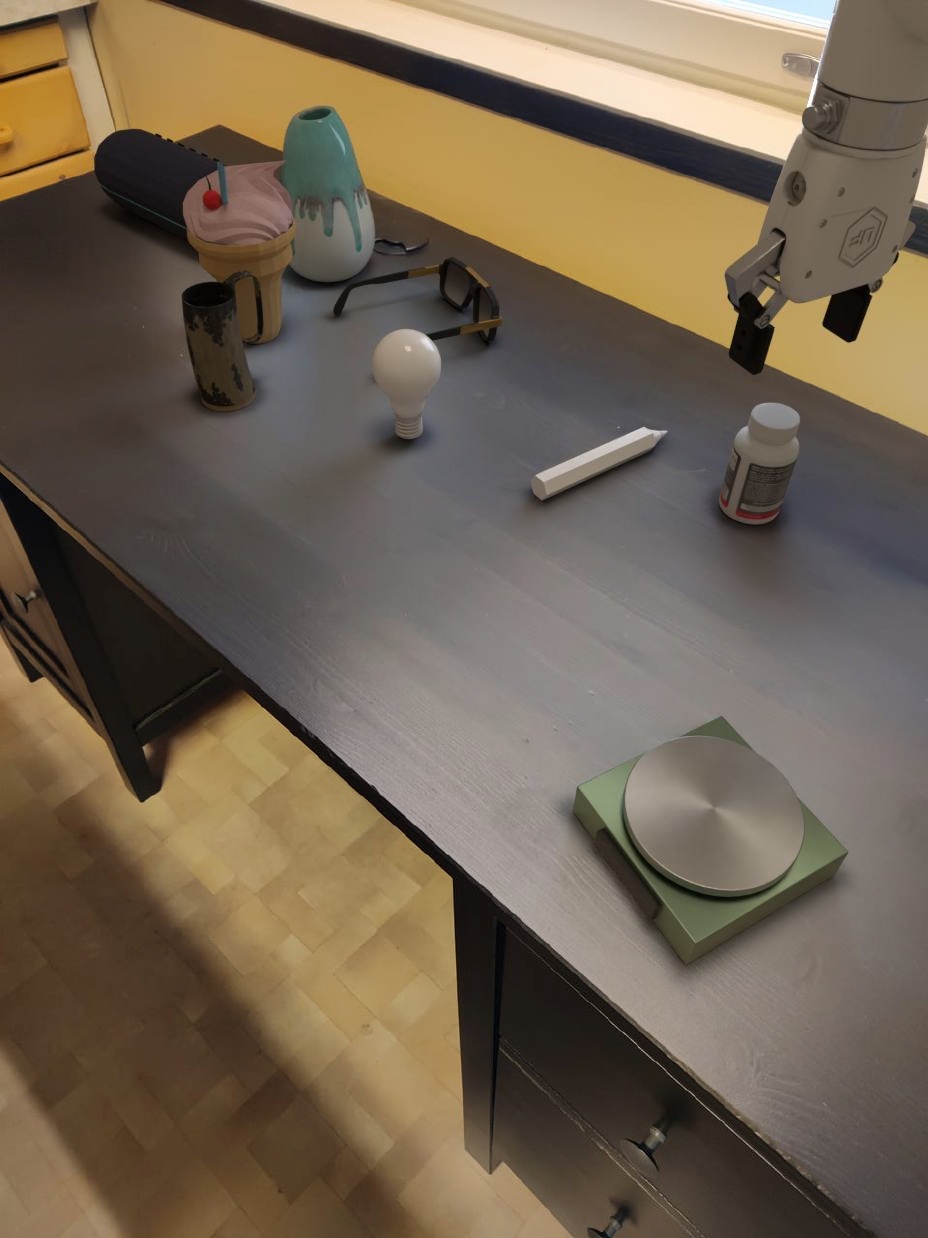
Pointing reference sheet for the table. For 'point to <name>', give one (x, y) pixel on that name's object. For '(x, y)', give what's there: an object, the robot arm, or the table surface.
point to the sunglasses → (449, 296)
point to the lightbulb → (406, 376)
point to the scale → (679, 910)
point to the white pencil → (594, 462)
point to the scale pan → (713, 816)
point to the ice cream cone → (244, 236)
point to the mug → (220, 342)
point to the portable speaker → (150, 175)
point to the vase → (326, 198)
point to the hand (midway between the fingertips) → (792, 349)
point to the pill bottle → (761, 464)
